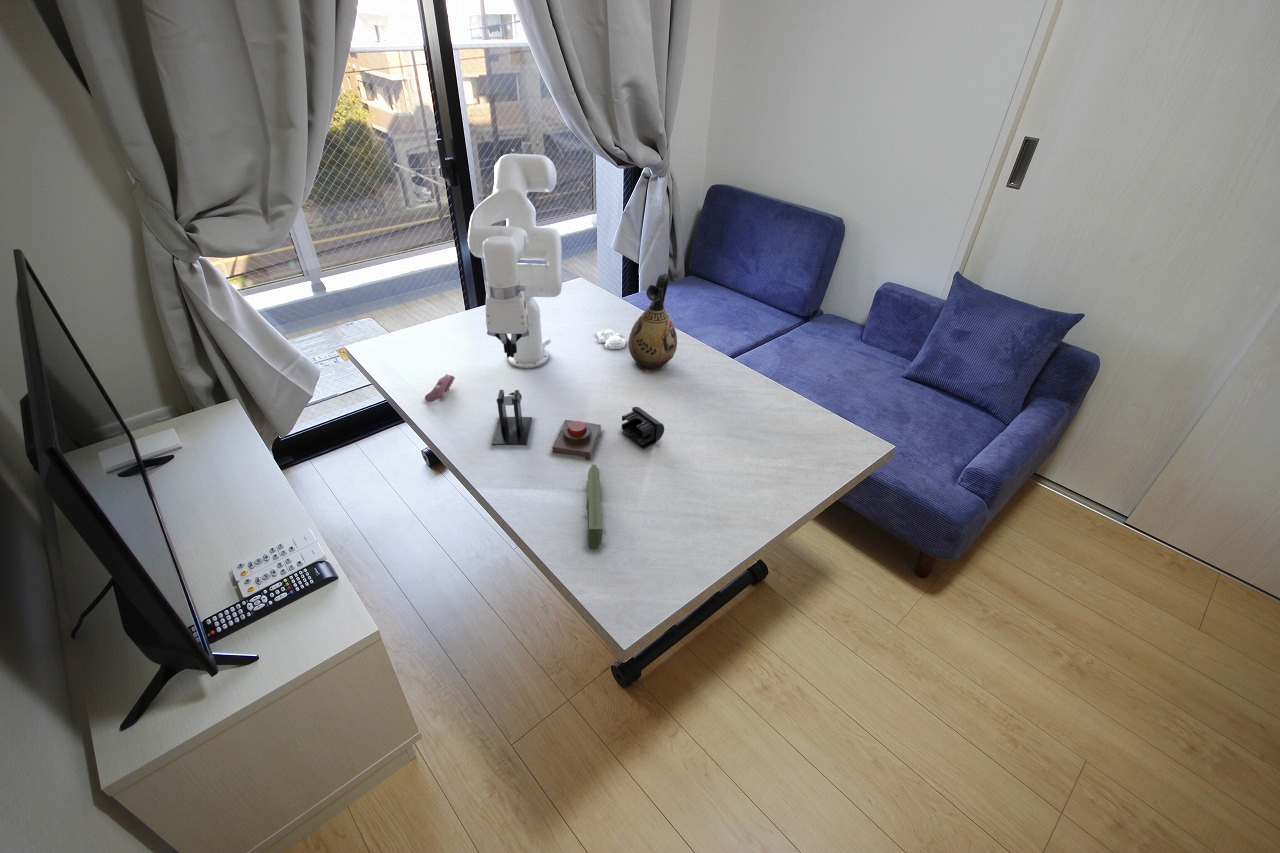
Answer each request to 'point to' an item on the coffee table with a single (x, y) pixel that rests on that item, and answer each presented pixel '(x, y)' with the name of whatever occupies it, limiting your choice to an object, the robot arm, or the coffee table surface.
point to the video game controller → (440, 388)
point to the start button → (576, 428)
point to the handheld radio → (594, 508)
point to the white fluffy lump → (611, 339)
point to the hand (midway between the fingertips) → (511, 354)
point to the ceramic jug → (653, 331)
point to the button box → (577, 440)
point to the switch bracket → (511, 423)
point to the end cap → (642, 428)
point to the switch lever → (510, 398)
